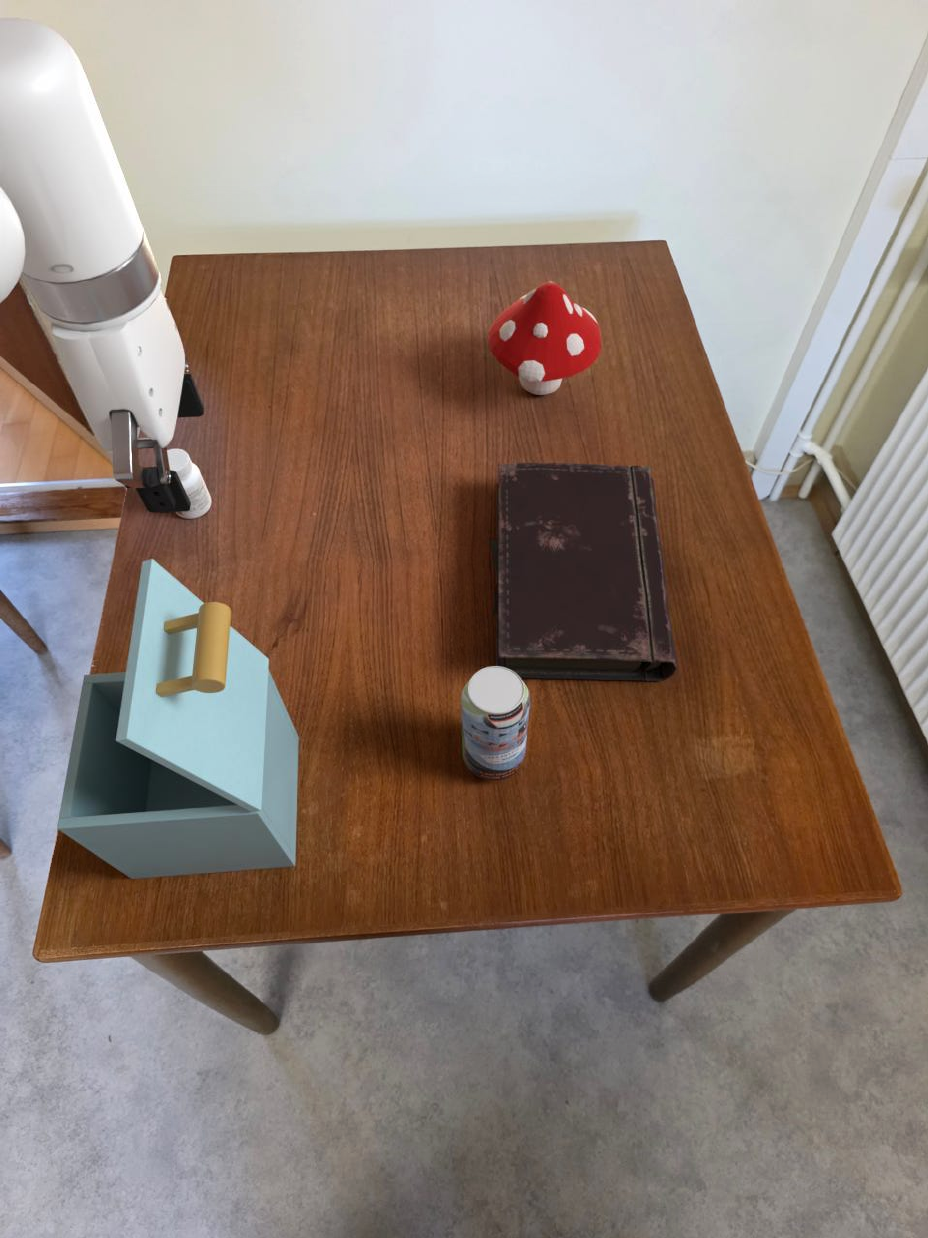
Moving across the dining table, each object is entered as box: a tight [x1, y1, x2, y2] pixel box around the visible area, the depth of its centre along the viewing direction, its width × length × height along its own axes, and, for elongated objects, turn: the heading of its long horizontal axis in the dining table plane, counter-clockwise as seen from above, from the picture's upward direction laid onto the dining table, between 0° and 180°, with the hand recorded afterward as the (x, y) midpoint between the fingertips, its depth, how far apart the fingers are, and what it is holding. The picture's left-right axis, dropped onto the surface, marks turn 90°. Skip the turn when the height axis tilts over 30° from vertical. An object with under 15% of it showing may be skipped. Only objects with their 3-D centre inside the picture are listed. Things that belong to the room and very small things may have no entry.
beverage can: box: [460, 665, 531, 781], centre depth 74 cm, size 6×7×12 cm
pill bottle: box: [167, 448, 212, 520], centre depth 91 cm, size 4×4×8 cm
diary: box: [489, 462, 678, 682], centre depth 87 cm, size 19×25×5 cm
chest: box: [56, 668, 300, 880], centre depth 69 cm, size 15×13×16 cm
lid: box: [116, 558, 270, 812], centre depth 56 cm, size 15×13×5 cm
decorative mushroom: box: [487, 280, 602, 396], centre depth 98 cm, size 14×14×15 cm
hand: (178, 459), depth 64 cm, fingers open, 9 cm apart
